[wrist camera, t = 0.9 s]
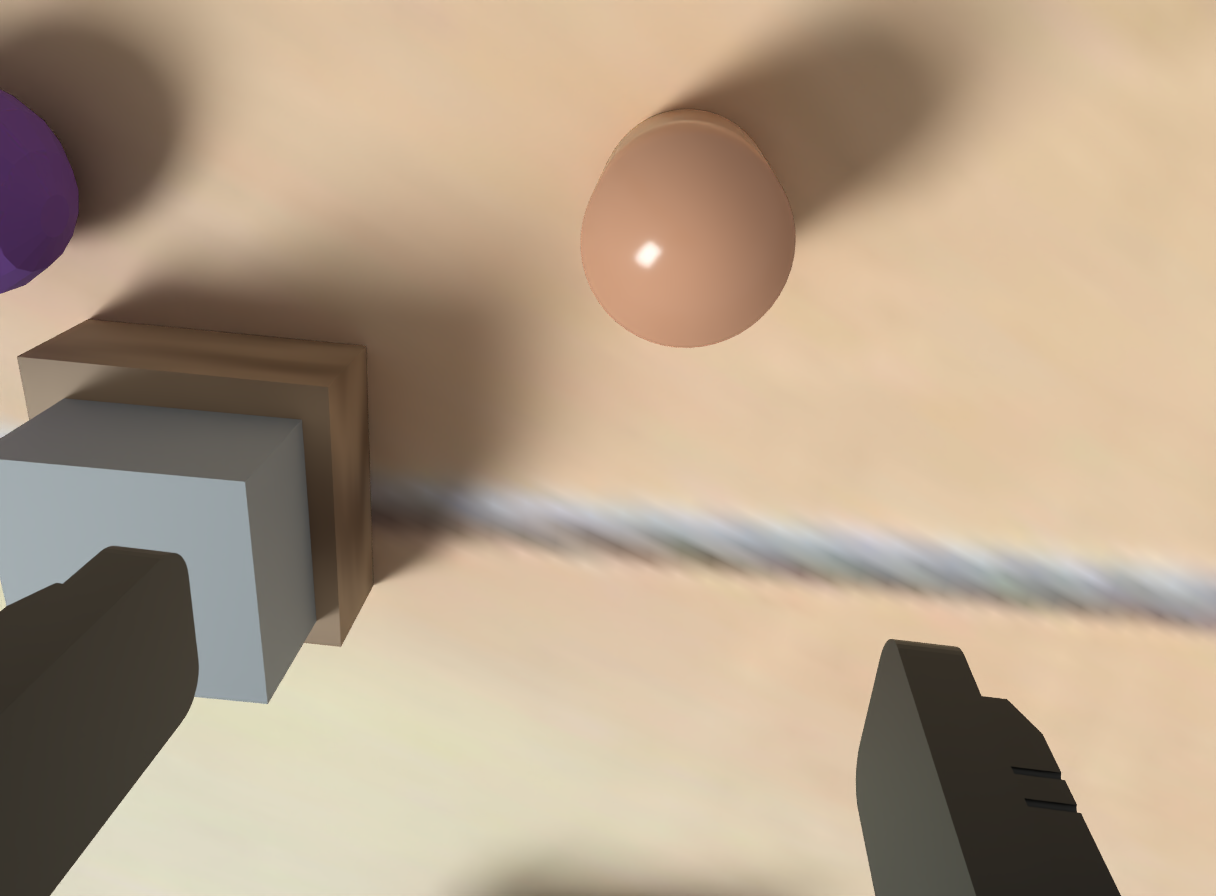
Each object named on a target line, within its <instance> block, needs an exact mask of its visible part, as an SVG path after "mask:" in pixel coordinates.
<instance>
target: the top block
mask: <svg viewBox="0 0 1216 896" xmlns="http://www.w3.org/2000/svg"><path fill="white" fill-rule="evenodd" d="M109 546H121V547H130V548H138V549H147V550H155V551H164V552H172V553H178V554H179V555H181V556H182V558H183V559H184V561H185V562H186V565H187V568H188V574H189V582H190V591H191V599H192V608H193V617H194V625H195V634H196V643H197V651H198V660H199V676H198V683H197V688H196V692H195V696H194V697H202V698H213V699H223V700H233V701H243V702H253V703H263V704H268V703H269V701H270V699H271V698H272V696H273V694H274V692H275V691H276V689H277V687H278V686H279V684H280V682H281V681H282V679H283V677H284V675H285V674H286V672H287V670H288V669H289V667H290V665H291V664H292V662H293V660H294V658H295V657H296V655H297V653H298V652H299V650H300V648H301V647H302V645H303V643H304V642H305V640H306V638H307V636H308V635H309V633H310V631H311V630H312V628H313V626H314V625H315V623H316V608H315V594H314V580H313V567H312V553H311V539H310V525H309V511H308V497H307V484H306V470H305V456H304V442H303V428H302V420H300V419H289V418H278V417H267V416H256V415H245V414H233V413H222V412H211V411H200V410H189V409H177V408H166V407H155V406H144V405H133V404H121V403H110V402H99V401H88V400H77V399H65V398H64V399H62V400H61V401H59V402H57V403H56V404H54V405H53V406H51V407H50V408H48V409H46V410H45V411H43V412H42V413H40V414H38V415H37V416H35V417H34V418H32V419H31V420H29V421H27V422H26V423H24V424H23V425H21V426H20V427H18V428H16V429H15V430H13V431H12V432H10V433H8V434H7V435H5V436H4V437H2V438H1V439H0V580H1V584H2V588H3V593H4V597H5V601H6V605H7V606H8V605H10V604H12V603H14V602H16V601H18V600H20V599H23V598H25V597H27V596H29V595H31V594H33V593H35V592H37V591H39V590H41V589H44V588H46V587H48V586H50V585H52V584H54V583H62V584H63V583H64V582H65V581H66V580H68V579H69V578H70V577H71V576H72V575H73V574H75V573H76V572H77V571H78V570H79V569H80V568H82V567H83V566H84V565H85V564H86V563H87V562H89V561H90V560H91V559H92V558H93V557H94V556H96V555H97V554H98V553H99V552H100V551H102V550H103V549H105V548H107V547H109Z"/></svg>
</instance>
